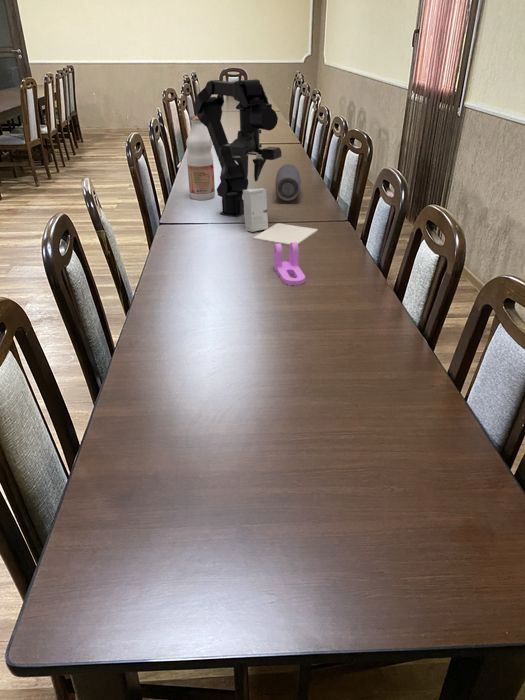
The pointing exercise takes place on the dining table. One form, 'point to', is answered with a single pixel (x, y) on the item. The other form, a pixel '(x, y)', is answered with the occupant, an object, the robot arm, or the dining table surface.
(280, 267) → the bracket
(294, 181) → the bluetooth speaker
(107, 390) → the dining table surface
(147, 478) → the dining table surface
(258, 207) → the skincare box
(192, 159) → the fruit juice
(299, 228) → the rubber mat
